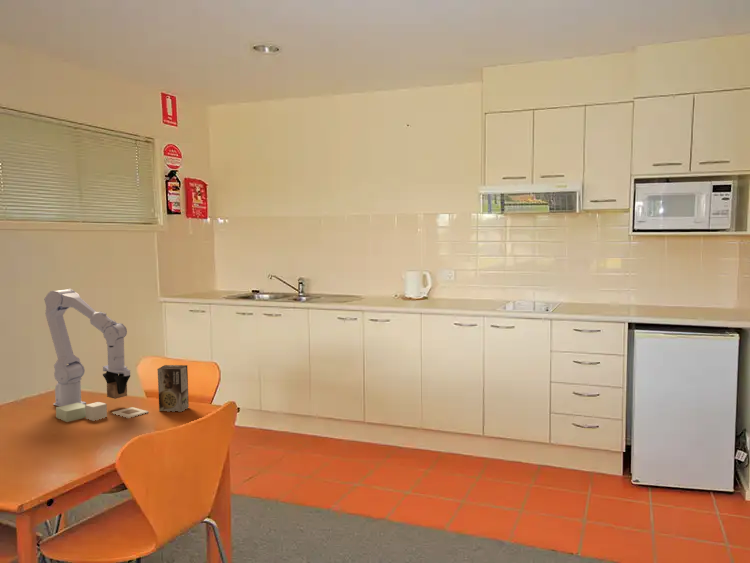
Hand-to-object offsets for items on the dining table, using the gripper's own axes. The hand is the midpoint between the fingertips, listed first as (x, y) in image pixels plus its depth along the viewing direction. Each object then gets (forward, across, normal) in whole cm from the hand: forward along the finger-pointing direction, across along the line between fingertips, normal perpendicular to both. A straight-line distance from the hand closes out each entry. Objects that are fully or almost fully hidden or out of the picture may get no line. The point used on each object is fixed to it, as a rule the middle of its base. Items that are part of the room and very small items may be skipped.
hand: (117, 392), depth 222 cm
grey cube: (+6, -6, +12) cm, 15 cm away
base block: (+6, +2, +16) cm, 17 cm away
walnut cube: (+2, 0, 0) cm, 2 cm away
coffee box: (+6, -20, -10) cm, 23 cm away
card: (+6, -11, +2) cm, 13 cm away
